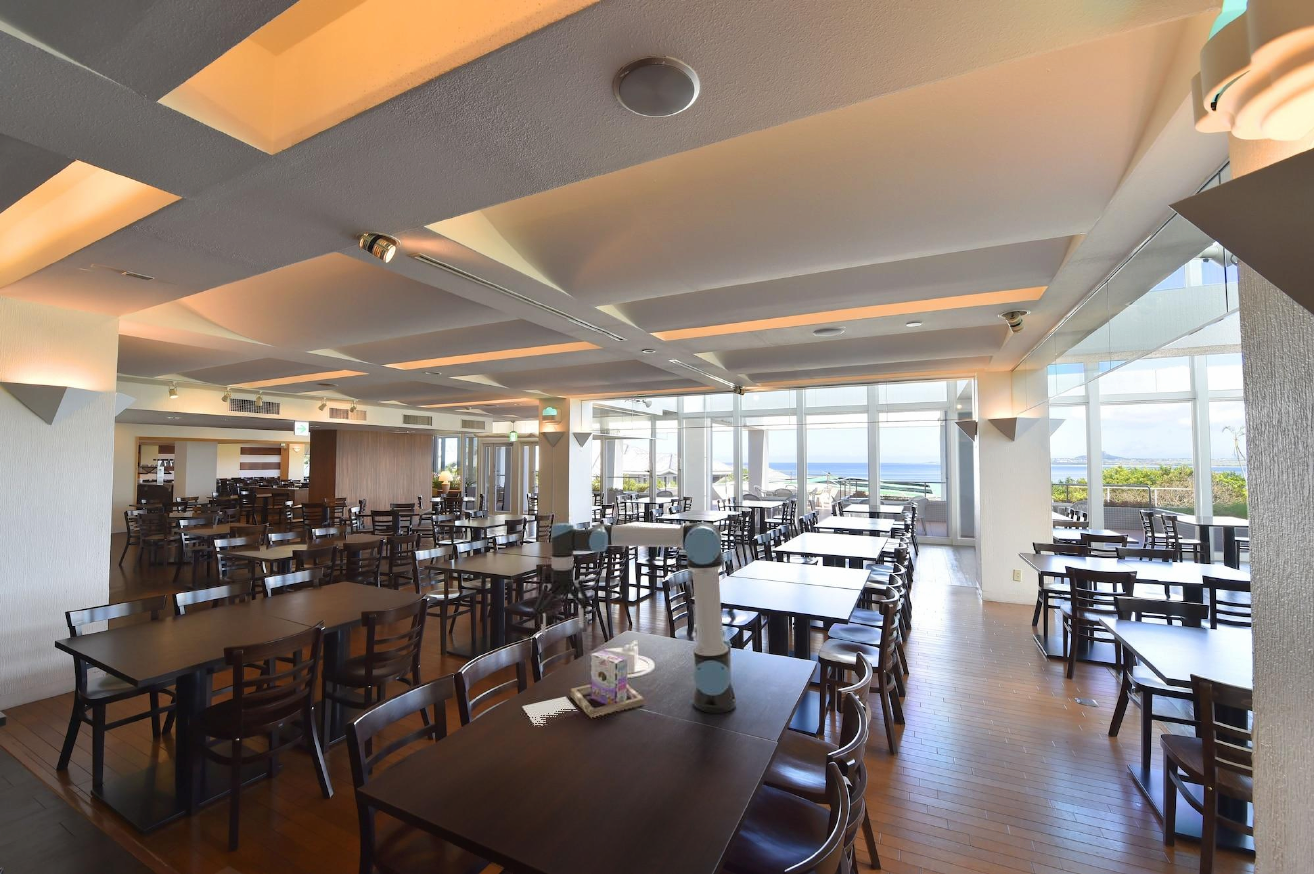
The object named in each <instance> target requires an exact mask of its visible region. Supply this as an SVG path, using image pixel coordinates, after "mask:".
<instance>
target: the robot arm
mask: <svg viewBox="0 0 1314 874" xmlns="http://www.w3.org/2000/svg"><path fill="white" fill-rule="evenodd" d="M550 538H551V540H550V541H551V542H550V543H551V545H550V546H551V583H549V584H548V583H547V584H546V583H542V584H541V591H540V594H539V596H538V598H537V600H536V603H535V604H534V607H533V609H532V612H533V613H534V614H537V615H538V624H539V625H540V628H541V629H540V632H541V634H542V635H546V634H547V630H546V629H547V628H546V627H547V624H546V623H547V621H546V620H547V617H546V613H545V612H546V611H547V610H548V608H549V607H550V605H551V604H552V602H554V600H555V599H556V598H557V597H562V596H568V595H570V596H571V597H572V598H573V599H574V600H575V602H577V604H578V605H579V607H578V627H580V628H581V629H583V628H584V618H586V616H587V610H586V609H587V608H588V607H589V606H591V603H592V602H591V601H590V599H589V597H588V594H587V592H586V591H585V588H584V586H583V581H582V580H581V579H576V580H574V568H573V567H574V552H589V553H590V552H593V553H598V552H605V551H606V550H607V549H608V547H614V546H615V547H616V546H617V547H647V548H648V547H650V548H651V547H652V548H653V547H654V548H657V547H658V548H659V547H660V548H680V549H681V550H683V551H685V554H686V562H687V563H686V564H687V568H688V570H689V569H690V571H691V572H692V581H693V582H692V583H693V584H692V585H693V597H694V611H695V612H694V613H695V624H696V625H695V627H696V640H697V644H696V645H695V646H694V647H693V662H694V671H693V679H694V683H695V689H694V692H693V694H692V704H693V706H694V708H696V709H698V710H699V711H702V712H705V713H708V714H724V713H729V712H731V711H733V710H734V709H735V708H736V705H737V703H736V701H737V700H736V695H735V692H734V688H733V685H732V678H731V677H732V672H731V670H732V667H731V663H732V662H731V661H732V657H731V656H732V655H731V651H732V646H731V640H730V639H729V638H727V637H726V636H725V637H724V633H723V631H724V630H723V629H724V628H723V618H722V617H723V616H722V606H721V604H722V603H721V591H720V579H719V578H720V575H719V570H720V568H721V567H723V556H722V555H723V554H722V553H723V552H722V534H721V532H720V529H719V528H718V527H717V526H716V525H715V524H713V523H710V522H707V521H706V522H705V521H703V522H702V521H701V522H700V521H699V522H691V523H689V522H688V523H685V522H683V523H682V524H681V525H627V524H626V525H625V524H624V525H623V524H621V525H617V524H614V525H613V524H612V525H611V524H605V523H599V524H598V523H597V525H594V526H592V527H590V528H589V529H578V528H577V529H576V528H574V524H573V523H571V522H570V523H569V522H557V523H554V524H553V525H552V526H551V536H550ZM574 587H576V588H577V589H578V591H579V594H580V596H581V597H582V599H583V600H582V599H581V598H580V597H579V596H578V595H577V594H576V593H575V591H574V590H573V588H574ZM550 589H551V592H550V593H549V596H547V594H548V591H549V590H550ZM546 597H547V598H546ZM545 599H546V600H545ZM728 711H729V712H728Z"/></svg>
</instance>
